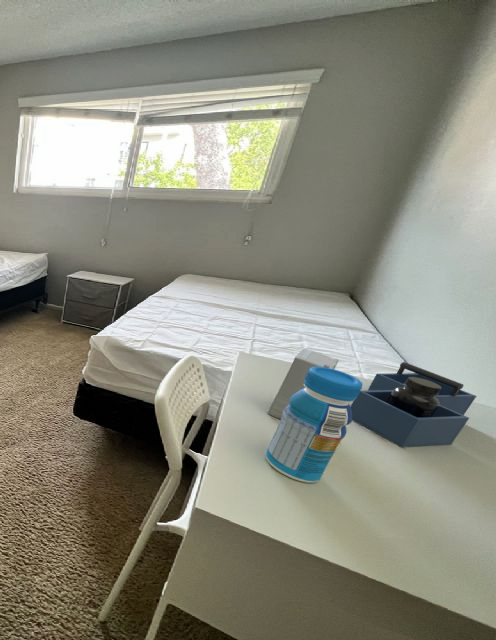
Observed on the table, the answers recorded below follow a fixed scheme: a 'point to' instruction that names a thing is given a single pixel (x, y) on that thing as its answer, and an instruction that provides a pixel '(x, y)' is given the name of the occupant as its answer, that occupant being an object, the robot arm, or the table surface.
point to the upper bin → (449, 391)
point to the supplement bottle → (416, 397)
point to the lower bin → (405, 421)
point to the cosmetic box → (298, 378)
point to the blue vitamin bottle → (313, 424)
